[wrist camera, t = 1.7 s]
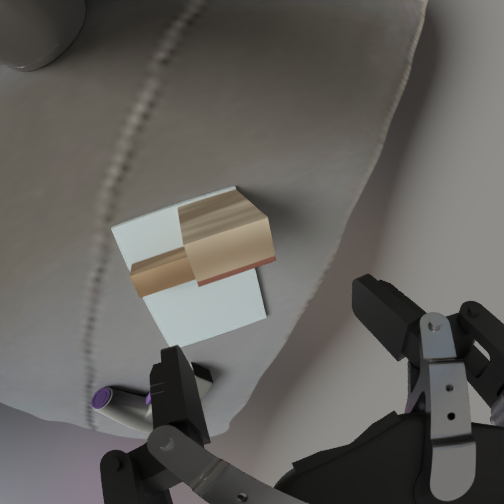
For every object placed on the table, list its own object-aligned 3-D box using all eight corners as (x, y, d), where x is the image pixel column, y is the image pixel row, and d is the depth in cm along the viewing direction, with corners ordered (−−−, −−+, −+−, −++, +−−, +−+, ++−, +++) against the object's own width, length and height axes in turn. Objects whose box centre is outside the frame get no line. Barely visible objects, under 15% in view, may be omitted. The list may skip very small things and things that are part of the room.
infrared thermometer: (213, 366, 36) (157, 419, 37) (138, 330, 30) (90, 393, 31) (222, 390, 32) (161, 441, 33) (139, 355, 26) (88, 417, 27)
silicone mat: (112, 226, 23) (111, 228, 23) (234, 185, 25) (235, 186, 25) (171, 346, 31) (171, 349, 30) (264, 314, 33) (266, 317, 32)
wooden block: (177, 207, 24) (183, 245, 16) (235, 189, 25) (267, 217, 17) (187, 238, 25) (198, 286, 18) (243, 220, 26) (276, 260, 19)
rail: (131, 264, 25) (129, 276, 23) (199, 240, 26) (203, 251, 24) (141, 284, 26) (140, 297, 24) (206, 262, 27) (210, 274, 25)
